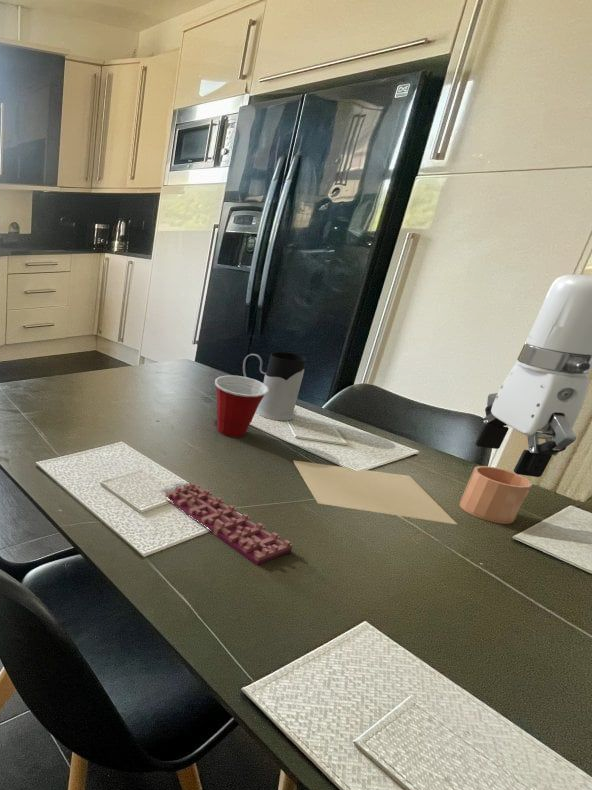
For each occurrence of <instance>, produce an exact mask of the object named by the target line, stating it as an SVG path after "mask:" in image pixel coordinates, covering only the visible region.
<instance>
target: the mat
mask: <svg viewBox="0 0 592 790" xmlns="http://www.w3.org/2000/svg"><path fill="white" fill-rule="evenodd" d="M292 462H293V464H294V465H295V467H296V469H297V470H298V472H299V474H300V476H301V477H302V479H303V481H304V482H305V485H306V486H307V488H308V489H309V491H310V493H311V495H312V496H313V498H314V500H315V501H316V503H317V504H320V505H327V506H333V507H339V508H347V509H352V510H358V511H366V512H373V513H379V514H386V515H393V516H399V517H406V518H412V519H419V520H426V521H431V522H439V523H444V524H452V525H458V523H457V522H456V521H455V520H454V519H453V518H452V517H451V516H450V515H449V514H448V513H447V512H446V511H445V510H444V509H443V508H442V507H441V506H440V505H439V504H438V503H437V502H436V501H435V500H434V498H432V497H431V496H430V495H429V494H428V493H427V492H426V491H425V490H424V489H423V488H422V486H420V485H419V484H418V483H417V481H415V480H414V479H413V477H411V476H410V475H407V474H398V473H392V472H391V473H390V472H384V471H383V472H382V471H376V470H368V469H362V470H363V471H354V470H351V469H349V468H350V467H345V466H338V465H330V464H323V463H315V462H307V461H301V460H292Z"/></svg>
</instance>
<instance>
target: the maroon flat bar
mask: <svg viewBox="0 0 592 790" xmlns="http://www.w3.org/2000/svg"><path fill="white" fill-rule="evenodd" d="M212 494H213V493H212V492H211V491H210V490H209V489H207V488H206V489H204V490H203V489H202V488H201V485H200V484H197V483H194V482H189V484H188V483H186V484H184V485H183V488H182V487H180V486H176V487H175V488H174V490H172V491H168V492H166V493H165V498H166V497H168V498H169V499H170V500H172V501H173V503H174V505H175V506H177V507H178V508H180V509H181V510H183V511H184V512H186V513H187V514H188V515H190V516H192V517H193V518H194V519H196V520H198V521H199V522H200V523H202V524H203V525H205V526H206V527H208V528H209V529H210V530H211V532H210V533H211V534H213V535H215V536H216V537H217V538H218V539H220V540H221V541H223V542H224V543H225V544H227V545H228V546H229V547H231V548H232V549H233V550H235V551H237V552H238V553H239V554H241V555H242V556H243V557H245V558H246V559H248V560H249V561H251V562H252V563H253V564H254V565H256V566H258V565H261V564H264V563H266V562H269V561H272V560H274V559H277V558H279V557H282V556H284V555H287V554H290V553H292V550H293V546H294V545H293V544H292V542H291V541H289V540H288V539H285V540H282V539H281V538H282V537H281V536H280V534H279V533H277V532H275V531H274V532H271V533H270V532H269V531H268V530H266V526H264V524H263V523H261V522H257V523H255V522H254V521H252V520H251V519H252V518H251V517H250V516H249V515H248V513H243V514H241V513H239V512H238V509H237V508H236V506H234V505H232V504H229V505H227V504H226V503H225V500H223V498H222V497H220V496H218V497H214V496H212ZM174 505H173V506H174ZM175 506H174V507H175ZM177 507H176V508H177ZM178 508H177V509H178ZM180 509H179V510H180ZM181 510H180V511H181ZM184 512H183V513H184ZM187 514H186V515H187ZM188 515H187V516H188ZM194 519H193V520H194Z"/></svg>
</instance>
